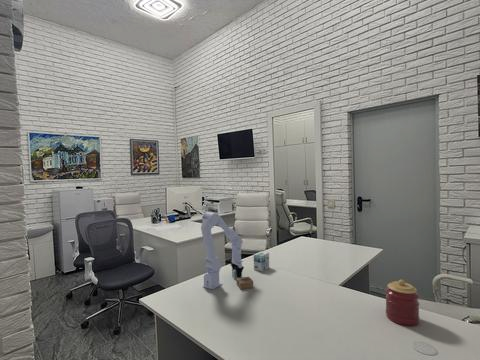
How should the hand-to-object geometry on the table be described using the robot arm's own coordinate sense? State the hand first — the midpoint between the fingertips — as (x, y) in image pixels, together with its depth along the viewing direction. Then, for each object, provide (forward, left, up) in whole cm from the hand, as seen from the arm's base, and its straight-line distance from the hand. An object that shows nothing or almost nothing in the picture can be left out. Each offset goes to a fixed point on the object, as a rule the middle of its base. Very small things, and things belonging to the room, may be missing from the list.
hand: (236, 275), depth 171 cm
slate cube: (0, 0, -2) cm, 2 cm away
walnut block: (-8, -11, -2) cm, 14 cm away
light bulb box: (+23, -6, -2) cm, 24 cm away
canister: (-4, -91, -2) cm, 91 cm away
